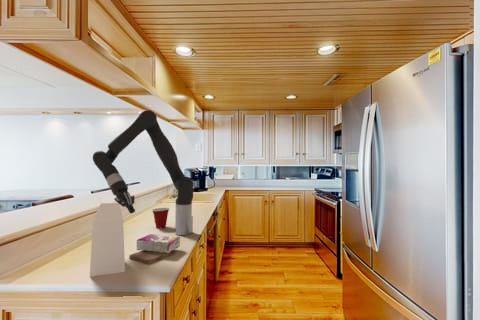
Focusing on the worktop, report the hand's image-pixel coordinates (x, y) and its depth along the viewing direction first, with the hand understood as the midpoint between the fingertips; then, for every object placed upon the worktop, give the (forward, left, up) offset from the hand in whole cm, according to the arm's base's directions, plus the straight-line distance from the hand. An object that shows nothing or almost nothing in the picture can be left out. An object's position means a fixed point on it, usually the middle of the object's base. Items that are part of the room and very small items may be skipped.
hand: (133, 212), depth 135 cm
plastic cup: (-34, -17, -17) cm, 42 cm away
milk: (+23, +15, -17) cm, 32 cm away
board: (+5, +19, -17) cm, 26 cm away
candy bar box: (+1, +8, -13) cm, 15 cm away
